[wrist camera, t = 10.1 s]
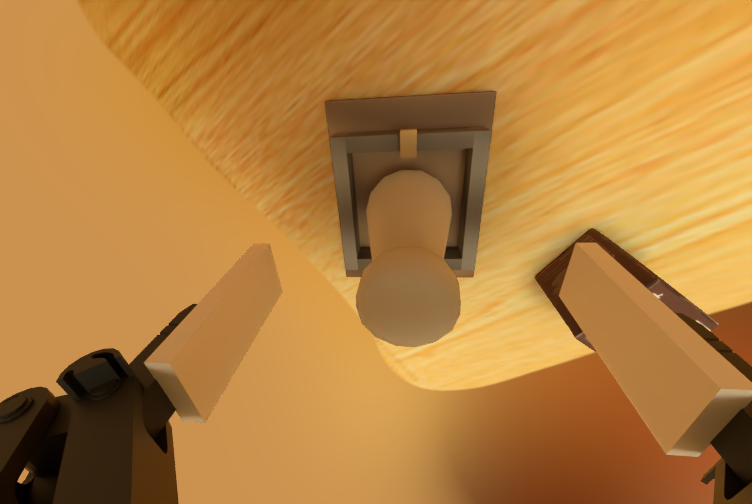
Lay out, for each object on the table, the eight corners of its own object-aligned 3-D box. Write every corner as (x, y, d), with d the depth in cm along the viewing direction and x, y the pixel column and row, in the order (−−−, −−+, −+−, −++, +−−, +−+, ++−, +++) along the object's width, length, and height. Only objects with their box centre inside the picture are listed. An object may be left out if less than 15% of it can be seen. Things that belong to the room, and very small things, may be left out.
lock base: (328, 100, 21) (314, 103, 18) (492, 91, 20) (508, 92, 16) (348, 270, 27) (340, 294, 24) (471, 270, 26) (479, 296, 23)
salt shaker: (432, 241, 24) (451, 383, 13) (364, 224, 24) (324, 353, 13) (459, 172, 21) (514, 279, 10) (381, 151, 21) (348, 237, 10)
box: (531, 276, 26) (572, 338, 20) (592, 225, 23) (661, 277, 17) (579, 309, 27) (632, 377, 21) (642, 264, 25) (724, 327, 18)
